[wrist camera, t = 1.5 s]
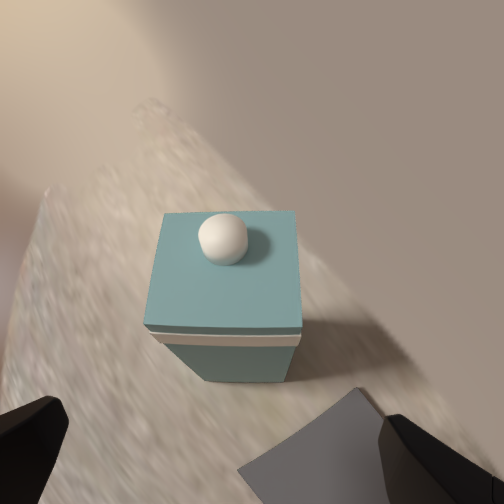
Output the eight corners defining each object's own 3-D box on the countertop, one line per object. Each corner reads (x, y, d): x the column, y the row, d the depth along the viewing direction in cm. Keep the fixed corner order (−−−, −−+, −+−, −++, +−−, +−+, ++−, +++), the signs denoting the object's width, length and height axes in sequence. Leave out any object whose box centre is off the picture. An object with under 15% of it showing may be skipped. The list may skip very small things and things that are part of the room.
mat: (428, 477, 14) (431, 478, 13) (319, 562, 11) (320, 564, 11) (355, 387, 18) (356, 386, 18) (237, 469, 15) (237, 470, 15)
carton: (284, 382, 18) (307, 319, 9) (203, 381, 19) (132, 316, 9) (283, 316, 21) (297, 195, 11) (208, 316, 21) (157, 199, 11)
